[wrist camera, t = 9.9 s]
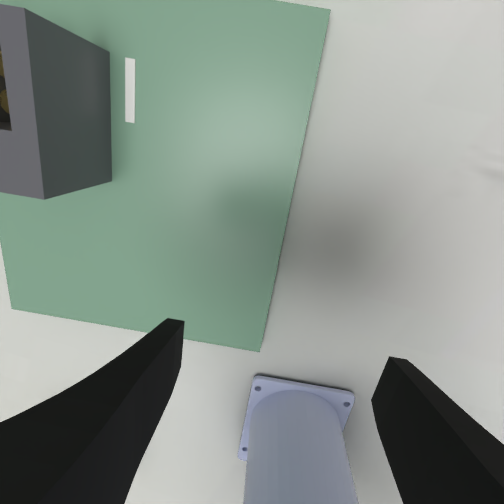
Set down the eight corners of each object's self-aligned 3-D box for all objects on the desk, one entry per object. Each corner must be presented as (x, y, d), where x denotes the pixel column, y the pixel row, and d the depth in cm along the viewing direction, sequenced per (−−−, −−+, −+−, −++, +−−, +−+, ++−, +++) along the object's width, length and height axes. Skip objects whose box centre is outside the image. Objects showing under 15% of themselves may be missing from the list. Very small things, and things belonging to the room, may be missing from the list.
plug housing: (112, 181, 17) (44, 199, 12) (28, 166, 17) (-75, 179, 12) (109, 51, 15) (24, 7, 10) (12, 35, 15) (-123, -17, 10)
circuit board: (260, 341, 22) (259, 353, 21) (24, 300, 22) (10, 309, 21) (326, 19, 15) (331, 8, 14) (-26, -39, 15) (-52, -55, 14)
